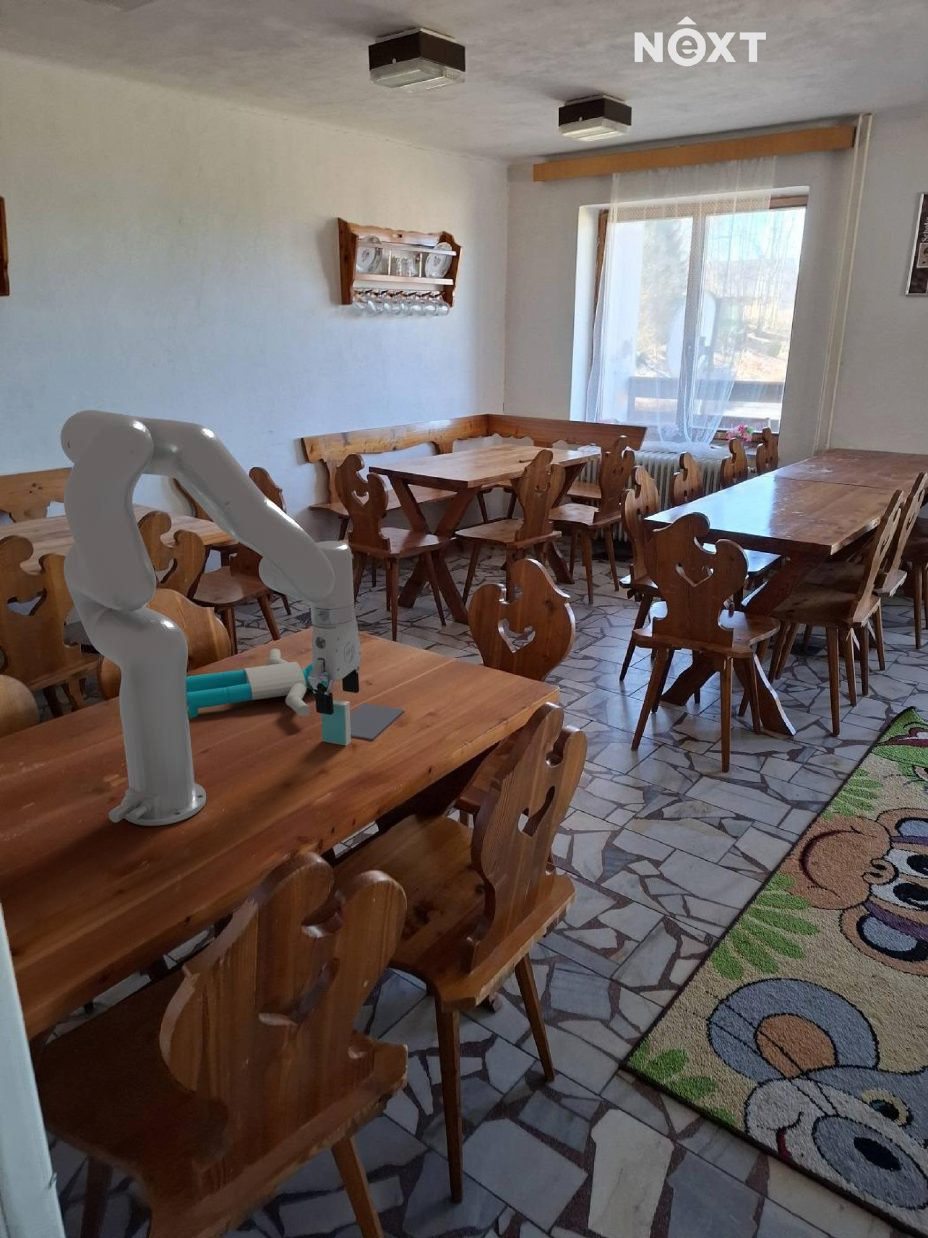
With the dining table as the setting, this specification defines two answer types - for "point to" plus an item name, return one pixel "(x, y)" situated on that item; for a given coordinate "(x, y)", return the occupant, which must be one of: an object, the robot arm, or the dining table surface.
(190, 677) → the toy
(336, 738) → the slab
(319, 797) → the dining table surface
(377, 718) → the mat
